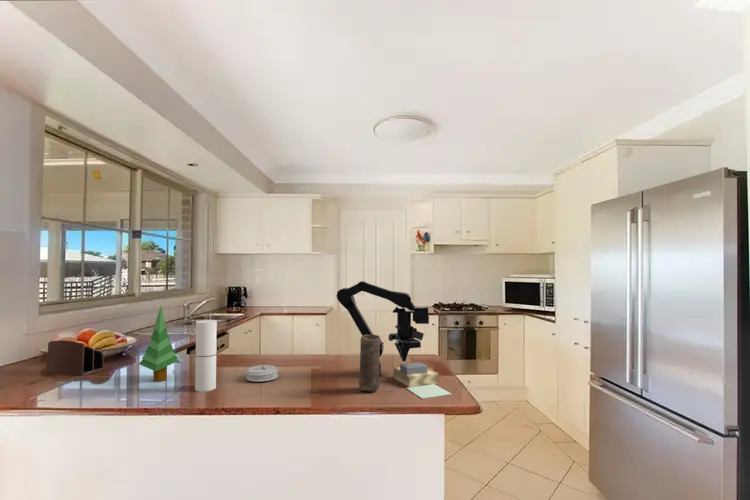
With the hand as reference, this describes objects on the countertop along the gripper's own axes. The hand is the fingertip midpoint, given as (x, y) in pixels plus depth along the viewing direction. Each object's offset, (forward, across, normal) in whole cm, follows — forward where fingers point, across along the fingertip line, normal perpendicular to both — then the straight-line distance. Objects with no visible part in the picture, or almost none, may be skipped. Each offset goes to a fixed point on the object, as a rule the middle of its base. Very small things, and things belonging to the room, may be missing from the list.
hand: (403, 361), depth 167 cm
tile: (+2, -9, 0) cm, 9 cm away
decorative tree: (+7, +31, +93) cm, 98 cm away
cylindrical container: (+7, +13, +76) cm, 77 cm away
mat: (+6, -21, 0) cm, 22 cm away
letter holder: (+7, +60, +128) cm, 142 cm away
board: (+6, -8, -2) cm, 10 cm away
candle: (+6, -12, +20) cm, 24 cm away
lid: (+7, +18, +55) cm, 58 cm away
